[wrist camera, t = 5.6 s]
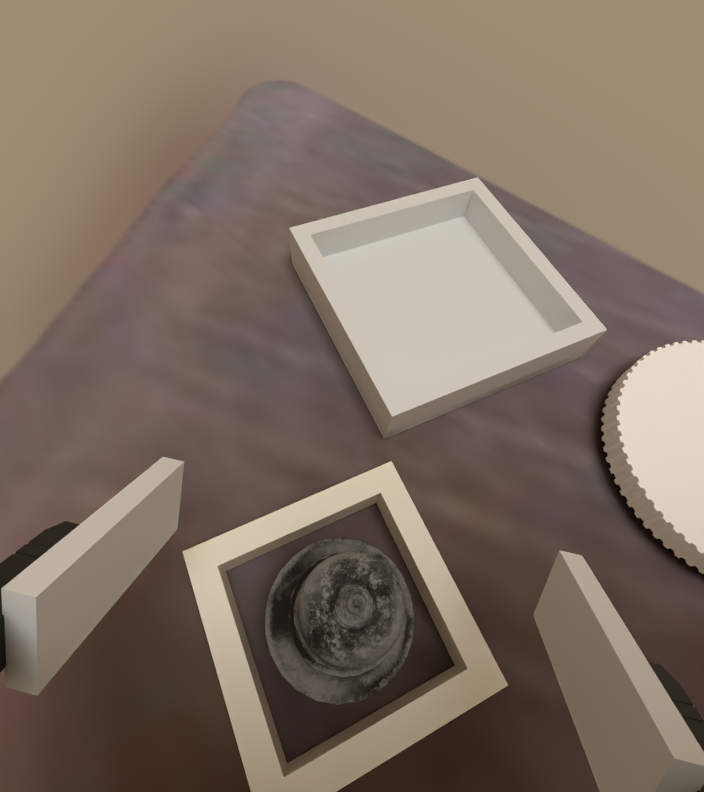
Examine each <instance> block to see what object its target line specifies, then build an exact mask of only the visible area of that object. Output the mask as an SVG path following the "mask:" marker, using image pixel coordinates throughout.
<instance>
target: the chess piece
mask: <svg viewBox="0 0 704 792" xmlns="http://www.w3.org/2000/svg"><path fill="white" fill-rule="evenodd" d="M414 619H415V617H414V610H413V603H412V596H411V594H410V591H409V589H408V586H407V584H406V581H405V579H404V577H403V575H402V574H401V572H400V571H399V570H398V568H397V567H396V565H395V564H394V562H393V561H392V560H391V559H390V558H388V557H387V556H386V555H385V554H384V553H382V552H381V551H380V550H379V549H378V548H376V547H373V546H371V545H369V544H367V543H365V542H363V541H360V540H355V539H349V538H344V537H342V538H331V539H324V540H321V541H319V542H316V543H313V544H311V545H308V546H307V547H305V548H304V549H302V550H301V551H300V552H298V553H297V554H295V555H294V556H292V558H291V559H290V560H289V561H288V562H287V563H286V565H285V566H284V567H283V568H282V569H281V571H280V572H279V573H278V576H277V578H276V580H275V582H274V584H273V586H272V588H271V590H270V593H269V597H268V601H267V606H266V610H265V635H266V639H267V643H268V647H269V650H270V654H271V657H272V659H273V660H274V662H275V664H276V666H277V668H278V669H279V671H280V673H281V675H282V676H283V677H284V678H285V679H286V680H287V681H288V682H289V683H290V684H291V685H292V686H293V687H294V688H295V689H296V690H297V691H299V692H300V693H302V694H304V695H306V696H308V697H310V698H311V699H313V700H315V701H319V702H324V703H330V704H335V705H340V704H348V703H355V702H359V701H361V700H364V699H366V698H368V697H370V696H372V695H374V694H376V693H378V692H379V691H380V690H381V689H382V688H384V687H385V686H386V685H387V684H388V683H389V682H390V681H392V680H393V679H394V677H395V676H396V674H397V673H398V671H399V670H400V668H401V667H402V665H403V663H404V662H405V660H406V658H407V655H408V652H409V649H410V646H411V643H412V640H413V630H414Z"/></svg>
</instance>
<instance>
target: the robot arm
mask: <svg viewBox="0 0 704 792" xmlns="http://www.w3.org/2000/svg"><path fill="white" fill-rule="evenodd" d="M183 468H184V462H183V461H179V460H174V459H170V458H166V457H162V458H161V459H160V460H159V461H157V462H156V463H155V464H154V465H152V466H151V467H150V468H149V469H147V470H146V471H145V472H144V473H143V474H141V475H140V476H139V477H138V478H136V479H135V480H134V481H133V482H131V483H130V484H129V485H128V486H127V487H125V488H124V489H123V490H122V491H120V492H119V493H118V494H117V495H116V496H114V497H113V498H112V499H111V500H109V501H108V502H107V503H106V504H104V505H103V506H102V507H101V508H100V509H98V510H97V511H96V512H95V513H93V514H92V515H91V516H90V517H88V518H87V519H86V520H85V521H84V522H82V523H81V524H80V525H79V524H75V523H71V522H67V521H65V522H63V523H60V524H58V525H56V526H53V527H51V528H48V529H46V530H44V531H43V532H42V533H40V534H39V535H38V536H36V537H35V538H34V539H32V540H31V541H30V542H29V544H28V545H27V544H26V545H24V546H23V547H22V548H20V549H19V550H18V551H16V553H15V555H14V554H12V555H11V556H10V557H8V558H7V559H6V560H4V561H3V562H2V563H0V672H1V671H2V670H3V669H4V668H5V687H7V688H10V689H14V690H18V691H22V692H26V693H30V694H33V695H38V694H39V693H40V692H41V691H42V690H43V688H44V687H45V686H46V685H47V684H48V682H49V681H50V680H51V679H52V678H53V676H54V675H55V674H56V673H57V672H58V671H59V669H60V668H61V667H62V666H63V665H64V663H65V662H66V661H67V660H68V659H69V657H70V656H71V655H72V654H73V653H74V651H75V650H76V649H77V648H78V647H79V646H80V644H81V643H82V642H83V641H84V640H85V638H86V637H87V636H88V635H89V634H90V632H91V631H92V630H93V629H94V628H95V627H96V625H97V624H98V623H99V622H100V621H101V619H102V618H103V617H104V616H105V615H106V613H107V612H108V611H109V610H110V609H111V607H112V606H113V605H114V604H115V603H116V602H117V600H118V599H119V598H120V597H121V596H122V594H123V593H124V592H125V591H126V590H127V588H128V587H129V586H130V585H131V584H132V582H133V581H134V580H135V579H136V578H137V577H138V575H139V574H140V573H141V572H142V571H143V569H144V568H145V567H146V566H147V565H148V563H149V562H150V561H151V560H152V559H153V558H154V556H155V555H156V554H157V553H158V552H159V550H160V549H161V548H162V547H163V546H164V544H165V543H166V542H167V541H168V540H169V538H170V537H171V536H172V535H173V534H174V533H175V531H176V530H177V529H178V519H179V509H180V499H181V489H182V478H183ZM533 616H534V619H535V621H536V624H537V627H538V629H539V632H540V635H541V637H542V640H543V643H544V645H545V648H546V651H547V653H548V656H549V658H550V661H551V664H552V666H553V669H554V672H555V674H556V677H557V680H558V682H559V685H560V688H561V690H562V693H563V696H564V698H565V701H566V704H567V706H568V709H569V712H570V714H571V717H572V720H573V722H574V725H575V728H576V730H577V733H578V736H579V738H580V741H581V744H582V746H583V749H584V751H585V754H586V757H587V759H588V762H589V765H590V767H591V770H592V773H593V775H594V778H595V781H596V783H597V786H598V789H599V791H600V792H704V721H703V719H702V718H701V716H700V715H699V713H698V712H697V710H696V708H693V704H692V702H691V701H690V699H689V698H688V696H687V695H686V693H685V692H684V690H683V689H682V687H681V686H680V684H679V683H678V682H677V681H676V680H675V679H674V678H673V677H672V676H671V675H670V674H669V673H668V672H667V671H666V670H665V669H664V668H663V667H662V666H661V665H658V664H653V663H649V662H648V661H647V660H646V658H645V656H644V655H643V653H642V651H641V650H640V648H639V647H638V645H637V643H636V642H635V640H634V639H633V637H632V635H631V634H630V632H629V631H628V629H627V627H626V626H625V624H624V622H623V621H622V619H621V618H620V616H619V614H618V613H617V611H616V610H615V608H614V606H613V605H612V603H611V601H610V600H609V598H608V597H607V595H606V593H605V592H604V590H603V589H602V587H601V585H600V584H599V582H598V581H597V579H596V577H595V576H594V574H593V572H592V571H591V569H590V568H589V566H588V564H587V563H586V561H585V560H584V558H583V556H581V555H577V554H573V553H569V552H564V551H560V550H559V552H558V555H557V557H556V560H555V562H554V565H553V567H552V570H551V572H550V575H549V577H548V580H547V582H546V585H545V587H544V590H543V592H542V594H541V597H540V599H539V602H538V604H537V607H536V609H535V612H534V614H533Z"/></svg>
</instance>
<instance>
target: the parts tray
mask: <svg viewBox="0 0 704 792" xmlns="http://www.w3.org/2000/svg"><path fill="white" fill-rule="evenodd" d="M289 232H290V246H291V260H292V265H293V266H294V268H295V270H296V272H297V274H298V276H299V278H300V280H301V282H302V284H303V286H304V287H305V289H306V291H307V293H308V295H309V297H310V299H311V301H312V303H313V305H314V306H315V308H316V310H317V312H318V314H319V316H320V318H321V320H322V322H323V324H324V326H325V327H326V329H327V331H328V333H329V335H330V337H331V339H332V341H333V343H334V345H335V346H336V348H337V350H338V352H339V354H340V356H341V358H342V360H343V362H344V364H345V366H346V367H347V369H348V371H349V373H350V375H351V377H352V379H353V381H354V383H355V385H356V386H357V388H358V390H359V392H360V394H361V396H362V398H363V400H364V402H365V404H366V406H367V407H368V409H369V411H370V413H371V415H372V417H373V419H374V421H375V423H376V425H377V426H378V428H379V430H380V432H381V434H382V436H383V438H384V439H386V438H389V437H391V436H393V435H396V434H398V433H401V432H403V431H405V430H408V429H410V428H413V427H415V426H417V425H420V424H422V423H425V422H427V421H429V420H432V419H434V418H437V417H439V416H441V415H444V414H446V413H449V412H451V411H453V410H456V409H458V408H461V407H463V406H465V405H468V404H470V403H473V402H475V401H477V400H480V399H482V398H485V397H487V396H489V395H492V394H494V393H497V392H499V391H501V390H504V389H506V388H509V387H511V386H513V385H516V384H518V383H521V382H523V381H525V380H528V379H530V378H533V377H535V376H537V375H540V374H542V373H544V372H547V371H549V370H552V369H554V368H556V367H559V366H561V365H564V364H566V363H568V362H571V361H573V360H576V359H578V358H580V357H581V356H582V355H583V354H584V353H585V352H586V351H587V350H588V349H589V348H590V347H591V346H592V345H593V344H594V343H595V342H596V341H597V340H598V338H599V337H600V336H601V335H602V334H603V333H604V332H605V331H606V330H607V329H606V328H605V327H604V326H603V324H602V323H601V322H600V321H599V320H598V319H597V317H596V316H595V315H594V314H593V313H592V311H591V310H590V309H589V308H588V307H587V306H586V304H585V303H584V302H583V301H582V300H581V299H580V297H579V296H578V295H577V294H576V293H575V291H574V290H573V289H572V288H571V287H570V286H569V284H568V283H567V282H566V281H565V280H564V278H563V277H562V276H561V275H560V274H559V273H558V271H557V270H556V269H555V268H554V267H553V266H552V264H551V263H550V262H549V261H548V260H547V258H546V257H545V256H544V255H543V254H542V253H541V251H540V250H539V249H538V248H537V247H536V246H535V244H534V243H533V242H532V241H531V240H530V238H529V237H528V236H527V235H526V234H525V233H524V231H523V230H522V229H521V228H520V227H519V225H518V224H517V223H516V222H515V221H514V220H513V218H512V217H511V216H510V215H509V214H508V213H507V211H506V210H505V209H504V208H503V207H502V205H501V204H500V203H499V202H498V201H497V200H496V198H495V197H494V196H493V195H492V194H491V192H490V191H489V190H488V189H487V188H486V187H485V185H484V184H483V183H482V182H481V181H480V180H479V178H478V177H477V178H474V179H470V180H466V181H463V182H459V183H455V184H451V185H448V186H444V187H440V188H436V189H433V190H429V191H425V192H422V193H418V194H414V195H410V196H407V197H403V198H399V199H396V200H392V201H388V202H384V203H381V204H377V205H373V206H370V207H366V208H362V209H358V210H355V211H351V212H347V213H343V214H340V215H336V216H332V217H329V218H325V219H321V220H317V221H314V222H310V223H306V224H303V225H299V226H295V227H291V228H289Z"/></svg>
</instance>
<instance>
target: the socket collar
mask: <svg viewBox="0 0 704 792" xmlns="http://www.w3.org/2000/svg"><path fill="white" fill-rule="evenodd" d="M375 503H376V504H377V506H378V508H379V510H380V512H381V514H382V516H383V518H384V521H385V523H386V525H387V527H388V529H389V531H390V533H391V535H392V537H393V539H394V541H395V543H396V545H397V547H398V549H399V551H400V554H401V556H402V558H403V560H404V562H405V564H406V566H407V568H408V570H409V572H410V574H411V576H412V578H413V580H414V582H415V584H416V587H417V589H418V591H419V593H420V595H421V597H422V599H423V601H424V603H425V605H426V607H427V609H428V611H429V613H430V615H431V617H432V620H433V622H434V624H435V626H436V628H437V630H438V632H439V634H440V636H441V638H442V640H443V642H444V644H445V646H446V648H447V650H448V653H449V655H450V657H451V659H452V661H453V663H454V666H453V667H451V668H449V669H448V670H446V671H444V672H442V673H441V674H439V675H437V676H436V677H434V678H432V679H430V680H429V681H427V682H425V683H424V684H422V685H420V686H419V687H417V688H415V689H413V690H412V691H410V692H408V693H407V694H405V695H403V696H401V697H400V698H398V699H396V700H395V701H393V702H391V703H389V704H388V705H386V706H384V707H383V708H381V709H379V710H377V711H376V712H374V713H372V714H371V715H369V716H367V717H365V718H364V719H362V720H360V721H359V722H357V723H355V724H353V725H352V726H350V727H348V728H347V729H345V730H343V731H341V732H340V733H338V734H336V735H335V736H333V737H331V738H329V739H328V740H326V741H324V742H323V743H321V744H319V745H317V746H316V747H314V748H312V749H311V750H309V751H307V752H305V753H304V754H302V755H300V756H299V757H297V758H295V759H293V760H292V761H290V762H288V763H287V761H286V758H285V755H284V752H283V749H282V746H281V743H280V740H279V736H278V733H277V730H276V727H275V724H274V721H273V718H272V714H271V711H270V708H269V705H268V702H267V699H266V696H265V693H264V689H263V686H262V683H261V680H260V677H259V674H258V671H257V667H256V664H255V661H254V658H253V655H252V652H251V649H250V646H249V642H248V639H247V636H246V633H245V630H244V627H243V624H242V620H241V617H240V614H239V611H238V608H237V605H236V602H235V599H234V595H233V592H232V589H231V586H230V583H229V580H228V577H227V573H226V571H227V570H230V569H232V568H234V567H236V566H238V565H241V564H243V563H245V562H247V561H249V560H252V559H254V558H256V557H258V556H260V555H263V554H265V553H267V552H269V551H271V550H274V549H276V548H278V547H280V546H282V545H285V544H287V543H289V542H291V541H293V540H296V539H298V538H300V537H302V536H304V535H307V534H309V533H311V532H313V531H315V530H318V529H320V528H322V527H324V526H326V525H329V524H331V523H333V522H335V521H337V520H340V519H342V518H344V517H346V516H348V515H351V514H353V513H355V512H357V511H359V510H362V509H364V508H366V507H368V506H370V505H373V504H375ZM183 555H184V559H185V562H186V566H187V569H188V573H189V576H190V580H191V583H192V587H193V590H194V594H195V597H196V601H197V604H198V608H199V611H200V615H201V618H202V622H203V625H204V629H205V633H206V636H207V640H208V643H209V647H210V650H211V654H212V657H213V661H214V664H215V668H216V671H217V675H218V678H219V682H220V685H221V689H222V692H223V696H224V699H225V703H226V706H227V710H228V713H229V717H230V720H231V724H232V727H233V731H234V734H235V738H236V741H237V745H238V748H239V752H240V755H241V759H242V762H243V766H244V769H245V773H246V776H247V780H248V783H249V787H250V790H251V792H337V791H338V790H340V789H341V788H343V787H345V786H346V785H348V784H350V783H351V782H353V781H354V780H356V779H358V778H359V777H361V776H362V775H364V774H366V773H367V772H369V771H371V770H372V769H374V768H375V767H377V766H379V765H380V764H382V763H383V762H385V761H387V760H388V759H390V758H392V757H393V756H395V755H396V754H398V753H400V752H401V751H403V750H404V749H406V748H408V747H409V746H411V745H413V744H414V743H416V742H417V741H419V740H421V739H422V738H424V737H425V736H427V735H429V734H430V733H432V732H434V731H435V730H437V729H438V728H440V727H442V726H443V725H445V724H447V723H448V722H450V721H451V720H453V719H455V718H456V717H458V716H459V715H461V714H463V713H464V712H466V711H468V710H469V709H471V708H472V707H474V706H476V705H477V704H479V703H480V702H482V701H484V700H485V699H487V698H489V697H490V696H492V695H493V694H495V693H497V692H498V691H500V690H501V689H503V688H505V687H506V686H508V684H507V682H506V680H505V678H504V676H503V674H502V672H501V671H500V669H499V667H498V665H497V663H496V661H495V659H494V657H493V655H492V653H491V651H490V649H489V647H488V646H487V644H486V642H485V640H484V638H483V636H482V634H481V632H480V630H479V628H478V626H477V624H476V623H475V621H474V619H473V617H472V615H471V613H470V611H469V609H468V607H467V605H466V603H465V601H464V599H463V598H462V596H461V594H460V592H459V590H458V588H457V586H456V584H455V582H454V580H453V578H452V576H451V575H450V573H449V571H448V569H447V567H446V565H445V563H444V561H443V559H442V557H441V555H440V553H439V551H438V550H437V548H436V546H435V544H434V542H433V540H432V538H431V536H430V534H429V532H428V530H427V528H426V526H425V525H424V523H423V521H422V519H421V517H420V515H419V513H418V511H417V509H416V507H415V505H414V503H413V502H412V500H411V498H410V496H409V494H408V492H407V490H406V488H405V486H404V484H403V482H402V480H401V478H400V477H399V475H398V473H397V471H396V469H395V467H394V465H393V463H392V461H391V462H388V463H386V464H384V465H381V466H379V467H377V468H374V469H372V470H370V471H367V472H365V473H363V474H361V475H358V476H356V477H354V478H351V479H349V480H347V481H344V482H342V483H340V484H337V485H335V486H333V487H330V488H328V489H326V490H324V491H321V492H319V493H317V494H314V495H312V496H310V497H307V498H305V499H303V500H300V501H298V502H296V503H294V504H291V505H289V506H287V507H284V508H282V509H280V510H277V511H275V512H273V513H270V514H268V515H266V516H263V517H261V518H259V519H257V520H254V521H252V522H250V523H247V524H245V525H243V526H240V527H238V528H236V529H233V530H231V531H229V532H226V533H224V534H222V535H220V536H217V537H215V538H213V539H210V540H208V541H206V542H203V543H201V544H199V545H196V546H194V547H192V548H189V549H187V550H185V551H183Z"/></svg>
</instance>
